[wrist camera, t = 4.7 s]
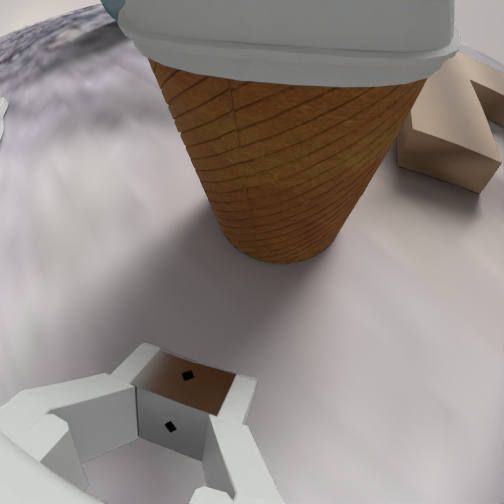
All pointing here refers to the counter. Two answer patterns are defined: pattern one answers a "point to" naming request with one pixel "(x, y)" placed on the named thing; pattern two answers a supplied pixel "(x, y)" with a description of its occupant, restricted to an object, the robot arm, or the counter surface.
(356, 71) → the disposable coffee cup
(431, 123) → the walnut T block
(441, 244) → the counter surface
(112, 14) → the flower pot
